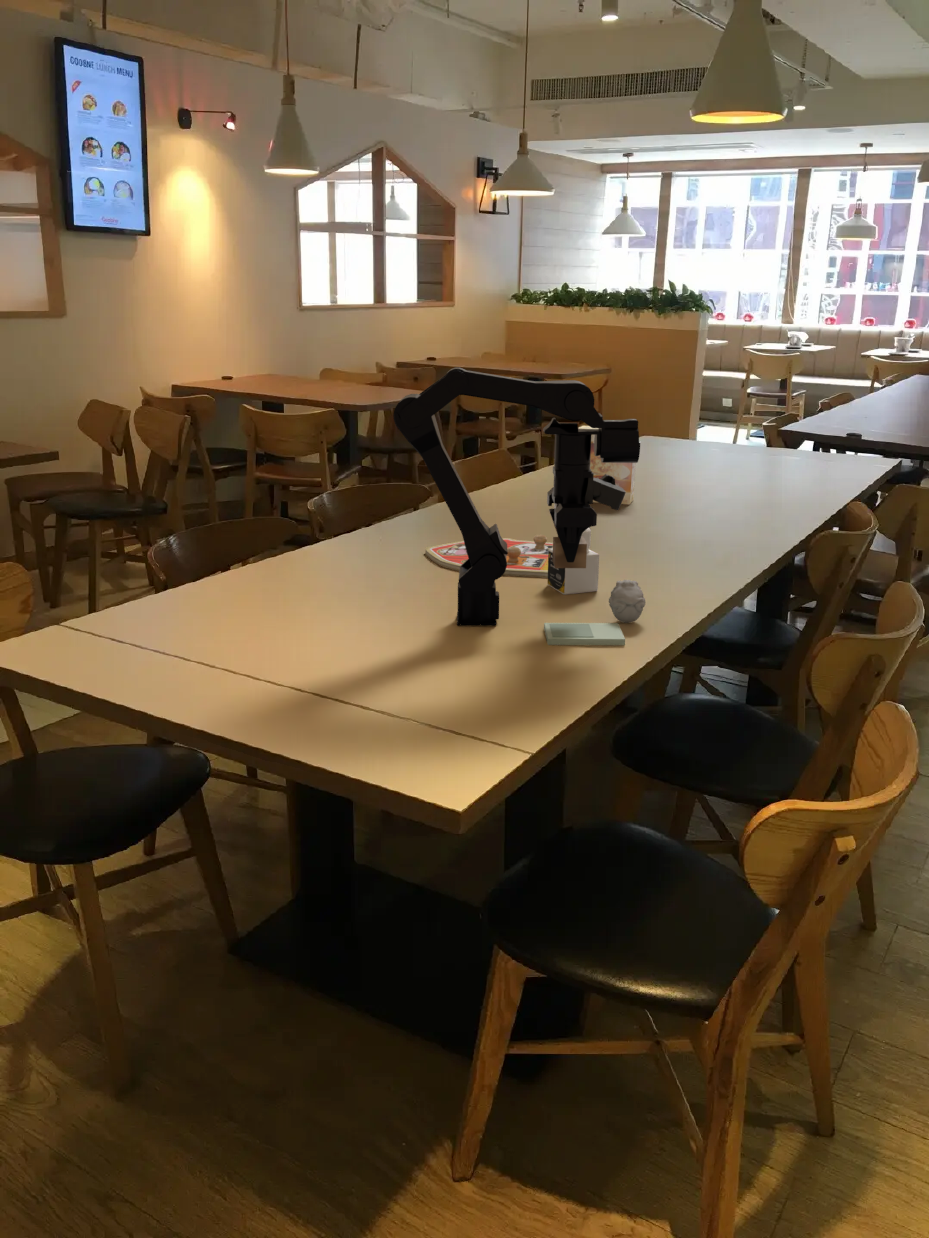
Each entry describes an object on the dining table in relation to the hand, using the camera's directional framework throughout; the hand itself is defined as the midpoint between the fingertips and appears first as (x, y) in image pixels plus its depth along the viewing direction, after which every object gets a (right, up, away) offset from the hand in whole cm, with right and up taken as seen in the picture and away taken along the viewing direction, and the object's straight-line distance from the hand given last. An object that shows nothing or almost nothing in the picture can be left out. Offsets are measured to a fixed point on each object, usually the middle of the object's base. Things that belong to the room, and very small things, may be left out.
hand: (568, 558), depth 161 cm
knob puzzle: (-11, +2, +45) cm, 46 cm away
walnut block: (0, -1, 0) cm, 1 cm away
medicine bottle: (+3, -4, +23) cm, 23 cm away
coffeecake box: (+20, +22, +103) cm, 108 cm away
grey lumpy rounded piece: (+10, -11, +4) cm, 15 cm away
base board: (+2, -13, -4) cm, 14 cm away
